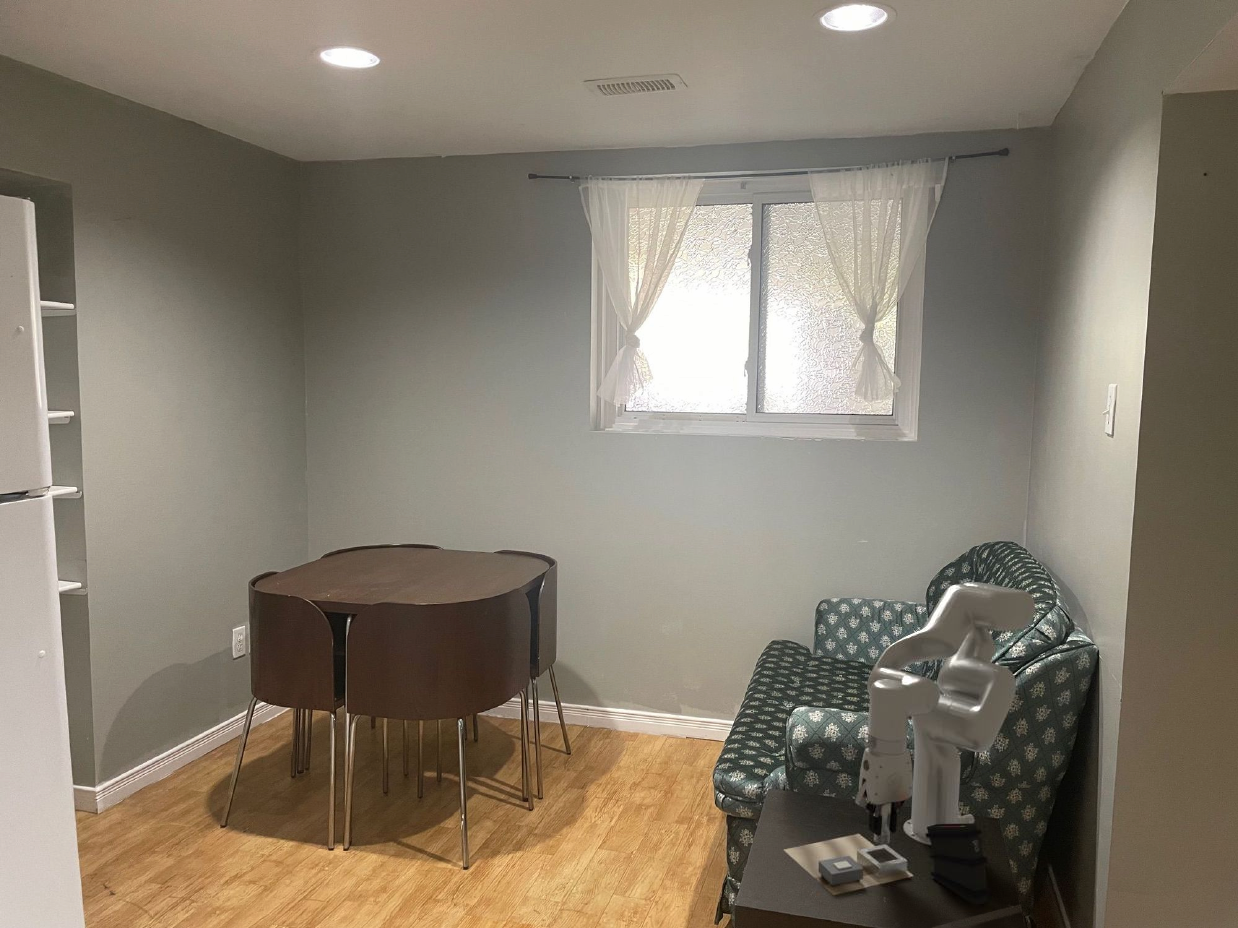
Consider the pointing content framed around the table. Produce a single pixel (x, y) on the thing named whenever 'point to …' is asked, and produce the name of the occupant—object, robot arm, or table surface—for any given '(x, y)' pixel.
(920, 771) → the robot arm
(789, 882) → the table surface
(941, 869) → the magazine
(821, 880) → the board
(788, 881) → the table surface
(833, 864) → the block
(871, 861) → the socket
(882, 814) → the awl
